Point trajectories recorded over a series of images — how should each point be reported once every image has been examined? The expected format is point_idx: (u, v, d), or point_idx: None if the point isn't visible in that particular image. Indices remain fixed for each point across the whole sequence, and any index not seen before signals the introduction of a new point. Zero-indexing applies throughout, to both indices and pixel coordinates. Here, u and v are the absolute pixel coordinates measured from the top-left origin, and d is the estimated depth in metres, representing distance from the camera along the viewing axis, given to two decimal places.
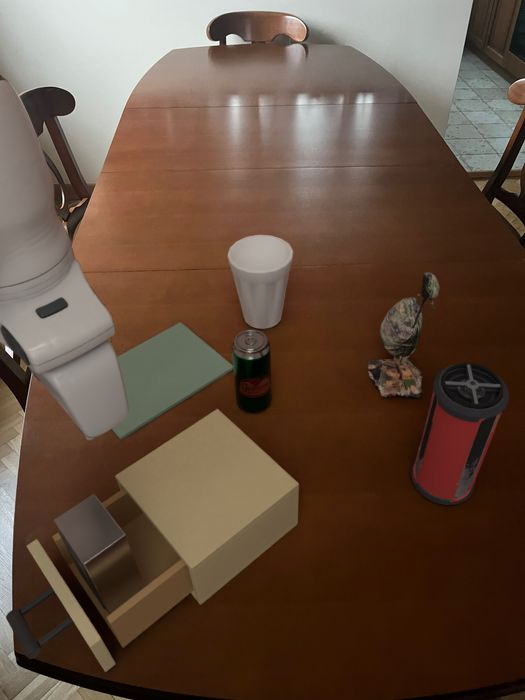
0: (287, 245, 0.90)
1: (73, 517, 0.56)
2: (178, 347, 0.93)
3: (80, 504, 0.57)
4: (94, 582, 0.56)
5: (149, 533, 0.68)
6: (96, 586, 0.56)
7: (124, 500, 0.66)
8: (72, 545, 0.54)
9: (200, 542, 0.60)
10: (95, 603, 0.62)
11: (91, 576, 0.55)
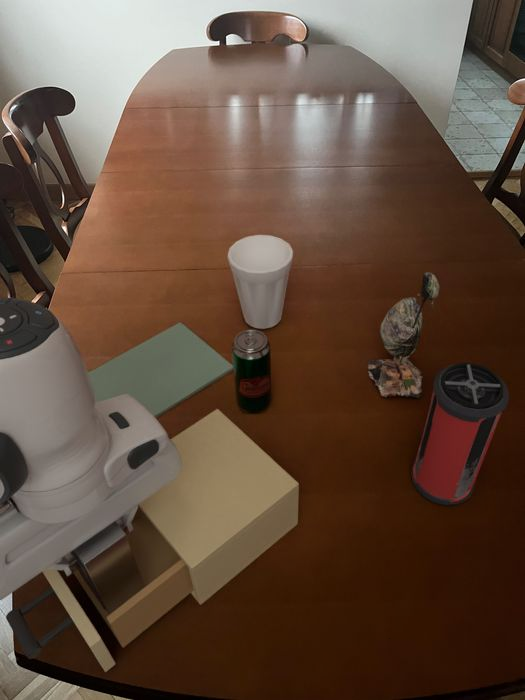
0: (287, 245, 0.90)
1: None
2: (178, 347, 0.93)
3: None
4: (94, 582, 0.56)
5: (149, 533, 0.68)
6: (96, 586, 0.56)
7: None
8: None
9: (200, 542, 0.60)
10: (95, 603, 0.62)
11: (91, 576, 0.55)
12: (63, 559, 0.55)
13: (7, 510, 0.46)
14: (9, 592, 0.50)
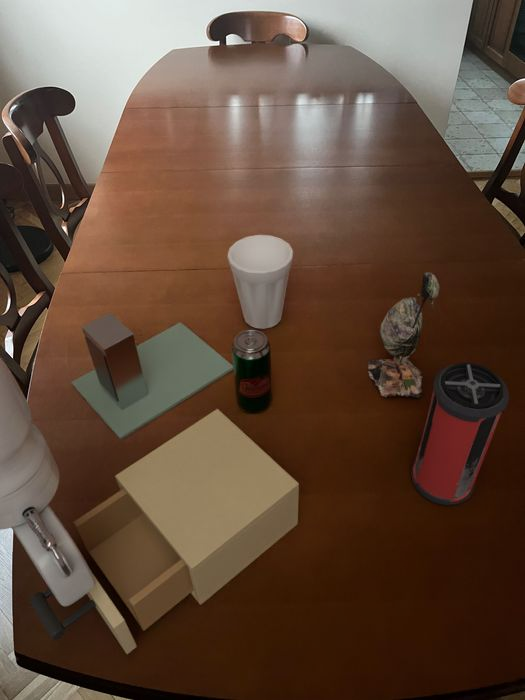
0: (287, 245, 0.90)
1: (95, 325, 0.79)
2: (178, 347, 0.93)
3: (100, 318, 0.80)
4: (111, 369, 0.78)
5: None
6: (112, 373, 0.78)
7: None
8: (95, 339, 0.77)
9: (200, 542, 0.60)
10: (115, 588, 0.64)
11: (109, 362, 0.77)
12: None
13: (38, 513, 0.52)
14: None
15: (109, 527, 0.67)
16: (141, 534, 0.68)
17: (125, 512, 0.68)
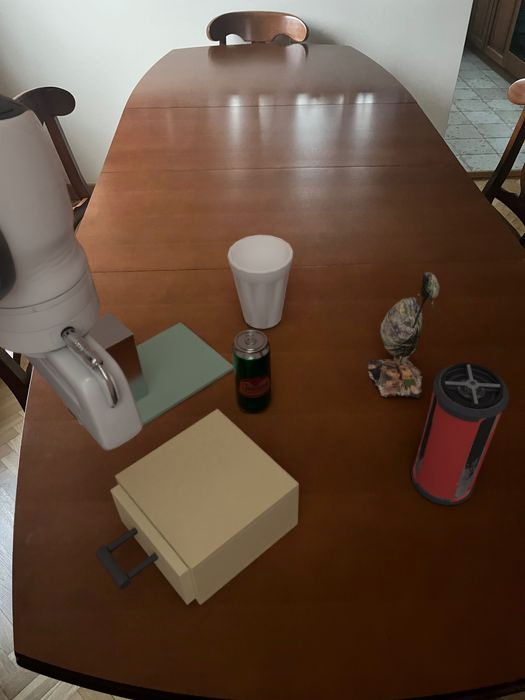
0: (287, 245, 0.90)
1: (95, 325, 0.79)
2: (178, 347, 0.93)
3: (100, 318, 0.80)
4: None
5: None
6: None
7: None
8: (95, 339, 0.77)
9: (200, 542, 0.60)
10: None
11: None
12: None
13: (79, 334, 0.45)
14: None
15: None
16: None
17: None
